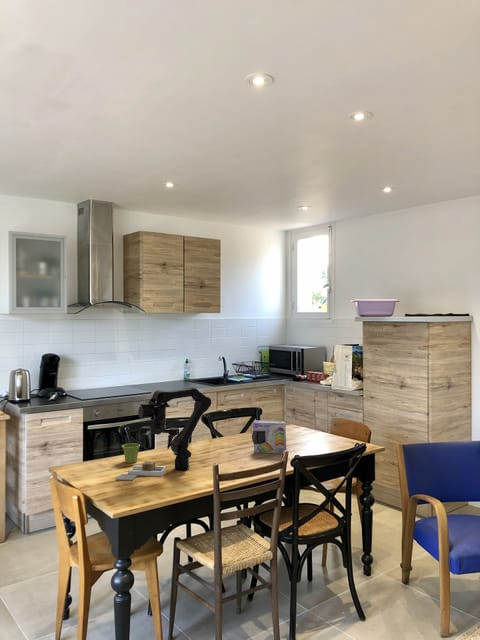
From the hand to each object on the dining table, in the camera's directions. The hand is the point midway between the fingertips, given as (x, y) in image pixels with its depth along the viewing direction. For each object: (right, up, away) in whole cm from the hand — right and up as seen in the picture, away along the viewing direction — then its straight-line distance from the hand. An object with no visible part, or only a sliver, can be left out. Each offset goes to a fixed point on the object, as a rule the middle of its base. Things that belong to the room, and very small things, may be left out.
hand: (159, 448), depth 254 cm
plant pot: (-18, -12, +21) cm, 30 cm away
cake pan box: (+56, -12, +39) cm, 69 cm away
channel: (-6, -12, +1) cm, 14 cm away
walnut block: (-5, -12, +1) cm, 13 cm away
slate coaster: (-14, -12, -8) cm, 20 cm away
